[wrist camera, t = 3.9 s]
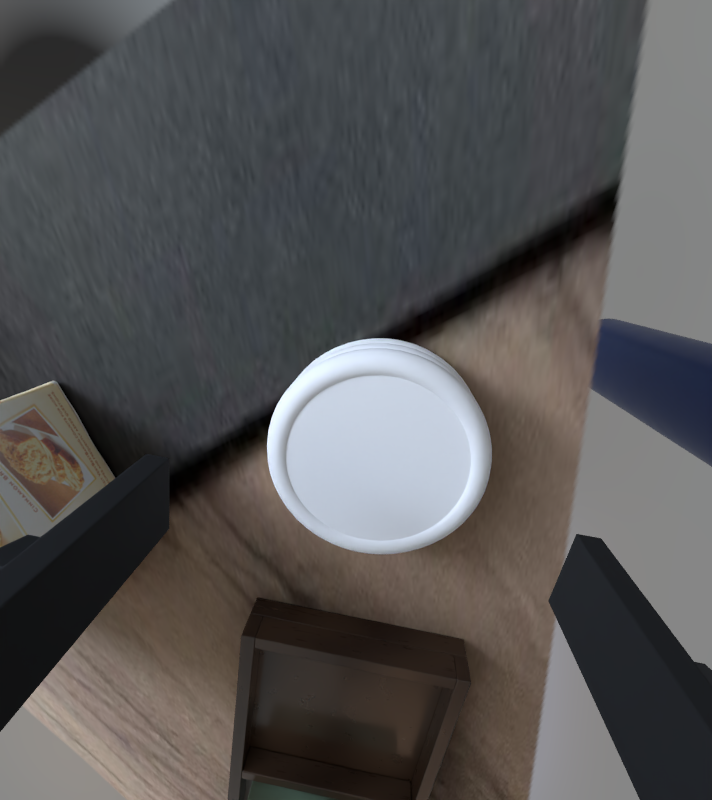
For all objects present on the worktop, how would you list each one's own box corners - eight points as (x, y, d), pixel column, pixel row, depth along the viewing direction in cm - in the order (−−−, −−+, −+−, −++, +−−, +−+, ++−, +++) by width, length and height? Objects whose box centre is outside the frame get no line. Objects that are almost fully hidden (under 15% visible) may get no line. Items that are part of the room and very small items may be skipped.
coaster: (249, 384, 20) (221, 408, 17) (434, 300, 18) (443, 309, 15) (335, 537, 23) (325, 584, 20) (506, 480, 21) (527, 521, 17)
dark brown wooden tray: (463, 639, 24) (480, 733, 20) (388, 860, 33) (387, 965, 28) (257, 597, 25) (223, 679, 20) (234, 826, 33) (206, 923, 28)
